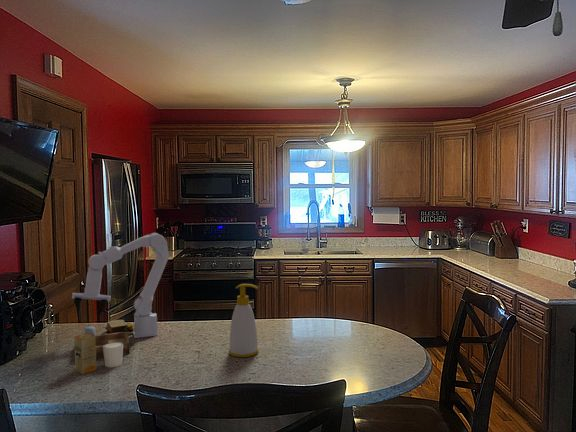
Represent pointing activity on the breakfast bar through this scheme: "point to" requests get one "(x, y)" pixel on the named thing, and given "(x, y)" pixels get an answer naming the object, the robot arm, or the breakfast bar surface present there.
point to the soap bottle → (243, 327)
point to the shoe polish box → (85, 353)
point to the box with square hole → (111, 338)
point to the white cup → (113, 354)
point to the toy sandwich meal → (119, 327)
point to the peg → (90, 330)
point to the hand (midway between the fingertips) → (88, 317)
